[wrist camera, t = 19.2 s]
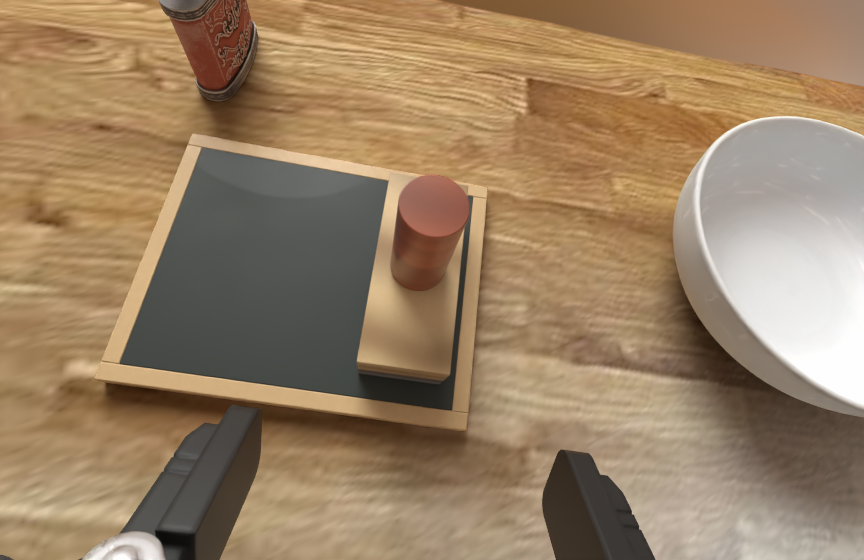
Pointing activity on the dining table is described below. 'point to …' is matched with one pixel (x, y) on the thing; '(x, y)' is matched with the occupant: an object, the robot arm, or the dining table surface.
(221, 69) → the lighter
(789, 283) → the serving bowl
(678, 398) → the dining table surface
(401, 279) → the eraser
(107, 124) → the dining table surface
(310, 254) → the board
